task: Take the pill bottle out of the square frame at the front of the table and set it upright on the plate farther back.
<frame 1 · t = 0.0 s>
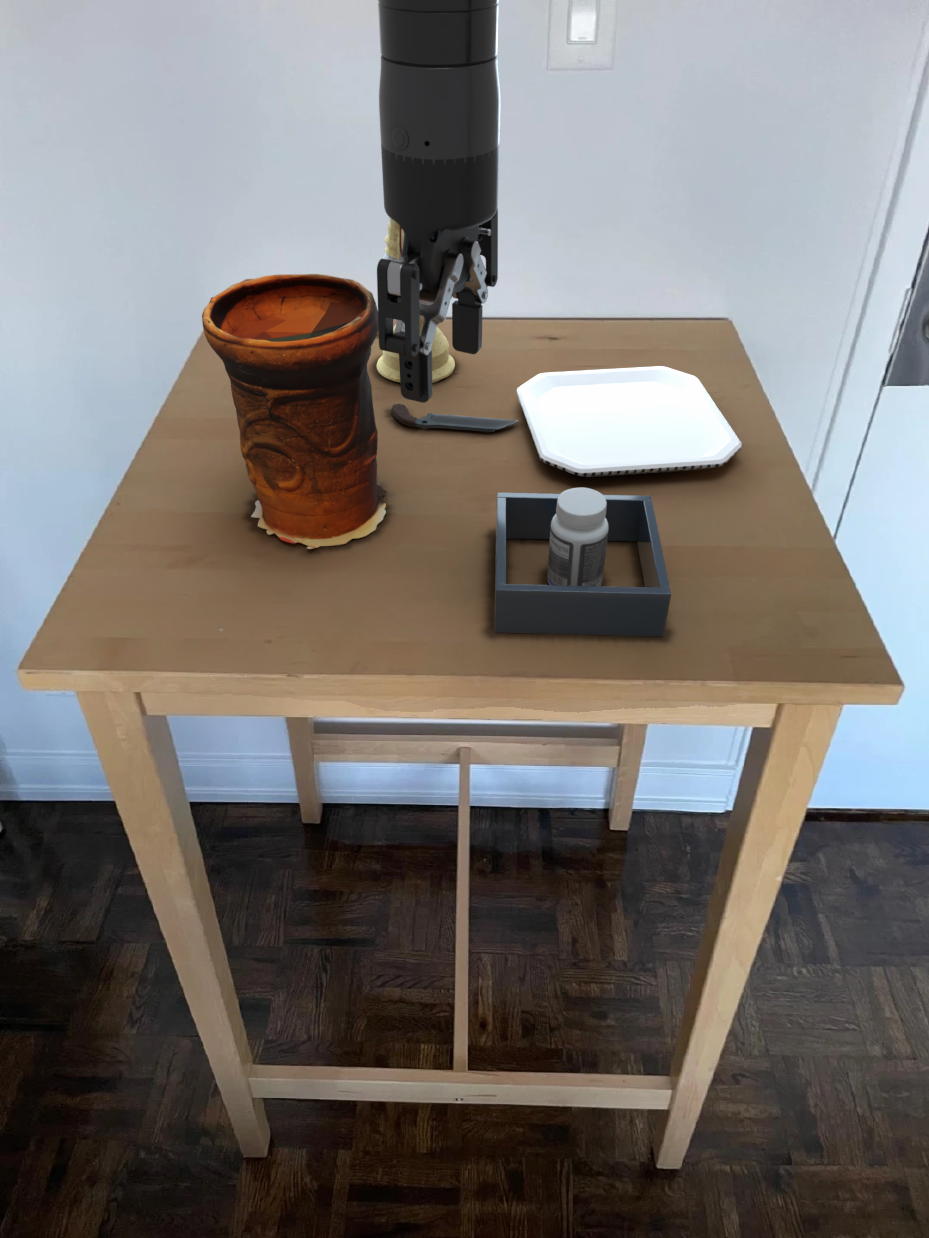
hand: (443, 373, 70), 19 cm above the table, tool pointing down, fingers open, 8 cm apart
plate: (622, 433, 100), on the table
vessel: (315, 509, 89), on the table
knife: (453, 423, 101), on the table
square frame: (574, 581, 81), on the table
lantern: (413, 368, 111), on the table
pill bottle: (573, 583, 81), resting in square frame
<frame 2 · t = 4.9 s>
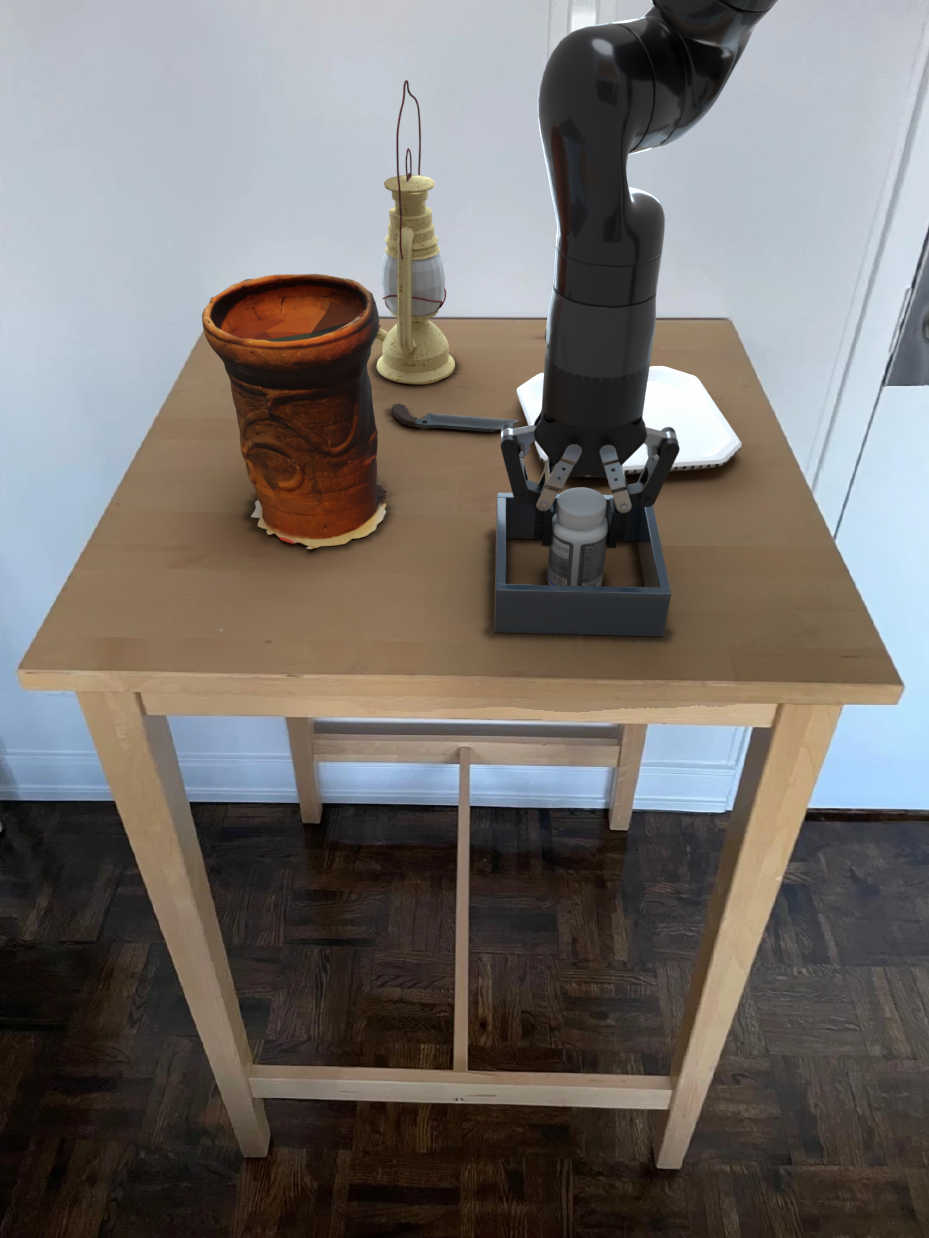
hand: (578, 540, 78), 4 cm above the table, tool pointing down, fingers closed on pill bottle, 4 cm apart
pill bottle: (573, 583, 81), resting in square frame, touching gripper
everything else where it was.
when the fingers open (7 cm above the table, at t = 12.1 s): pill bottle stays where it is, resting on plate.
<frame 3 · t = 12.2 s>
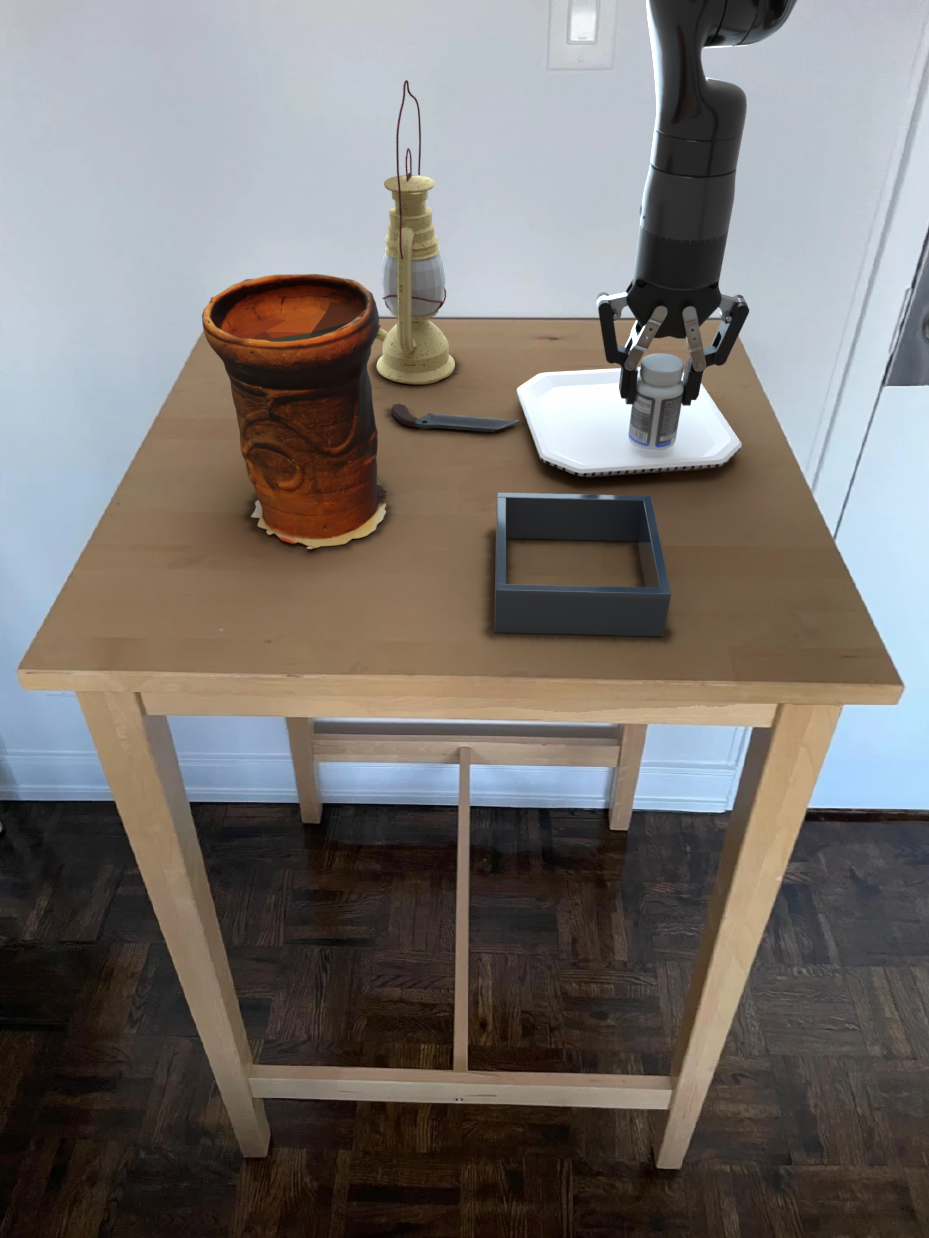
hand: (657, 400, 92), 7 cm above the table, tool pointing down, fingers open, 5 cm apart
plate: (622, 433, 100), on the table, touching pill bottle
pill bottle: (650, 441, 95), point 2 cm above the table, touching plate
everything else where it was.
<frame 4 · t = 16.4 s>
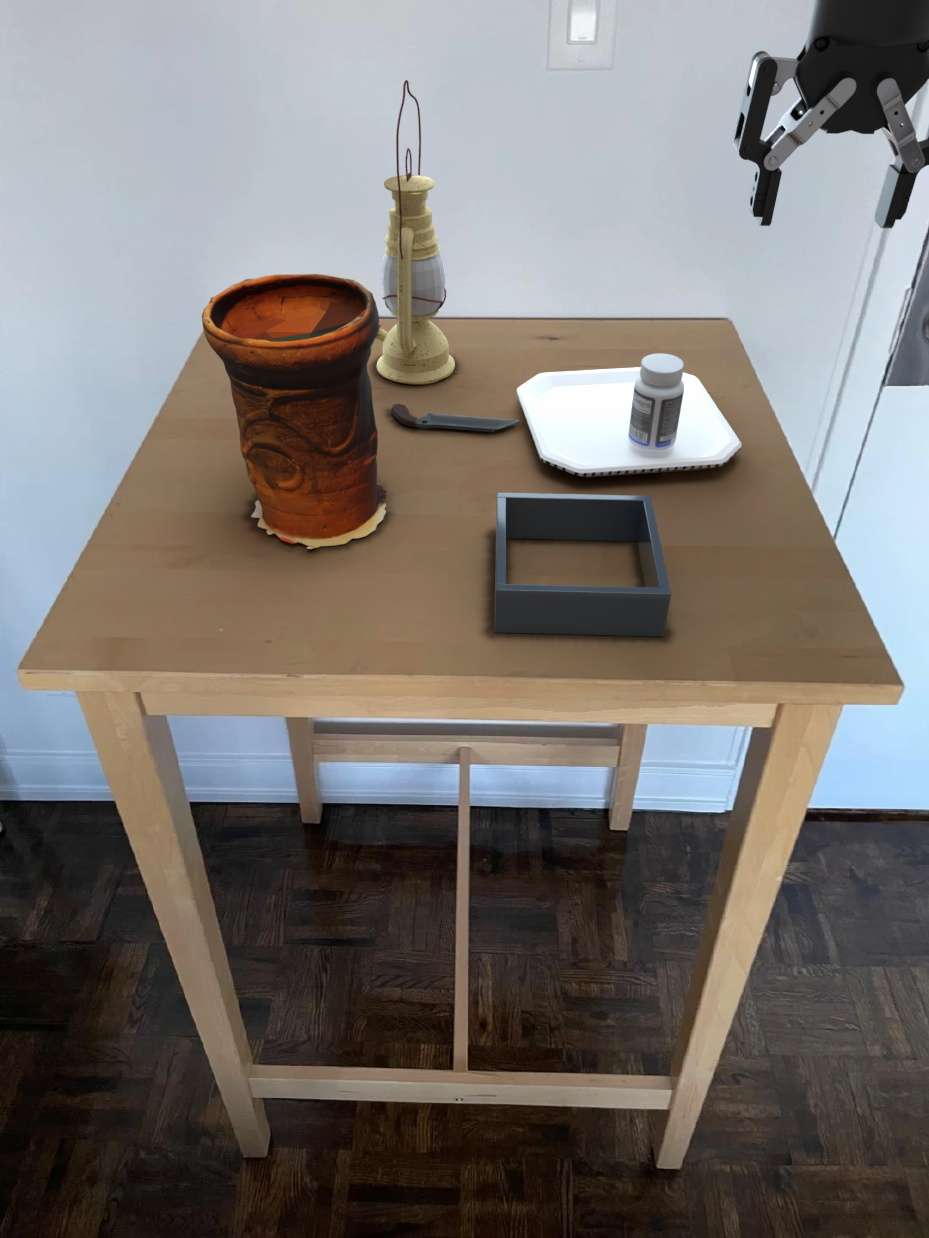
hand: (822, 223, 67), 28 cm above the table, tool pointing down, fingers open, 8 cm apart
nothing on the table moved.
at the end: pill bottle inside the target area on the plate (5.8 cm from its centre), point 2.2 cm above the plate's base; pill bottle tilted 0° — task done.
